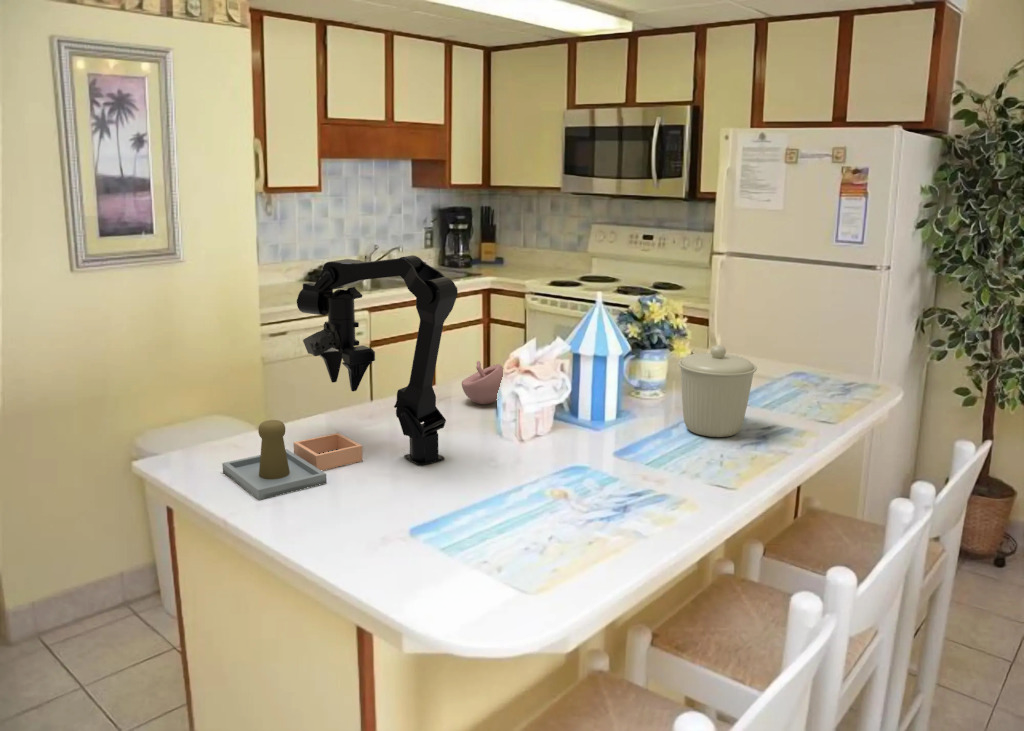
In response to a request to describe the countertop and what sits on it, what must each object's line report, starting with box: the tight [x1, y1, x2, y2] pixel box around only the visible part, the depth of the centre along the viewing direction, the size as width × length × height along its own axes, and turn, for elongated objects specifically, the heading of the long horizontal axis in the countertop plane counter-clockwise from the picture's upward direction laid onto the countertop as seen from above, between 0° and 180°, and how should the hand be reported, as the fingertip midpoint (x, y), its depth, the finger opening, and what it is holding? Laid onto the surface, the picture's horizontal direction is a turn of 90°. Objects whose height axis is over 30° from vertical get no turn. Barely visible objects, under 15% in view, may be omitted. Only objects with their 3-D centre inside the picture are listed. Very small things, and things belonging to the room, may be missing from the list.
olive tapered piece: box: [257, 419, 290, 479], centre depth 169 cm, size 6×6×11 cm
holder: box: [293, 432, 363, 471], centre depth 181 cm, size 11×11×4 cm
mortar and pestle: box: [461, 360, 504, 405], centre depth 223 cm, size 12×12×12 cm
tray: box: [221, 448, 328, 501], centre depth 171 cm, size 18×14×2 cm
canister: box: [677, 344, 758, 438], centre depth 202 cm, size 18×18×21 cm
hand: (343, 386), depth 189 cm, fingers open, 9 cm apart
